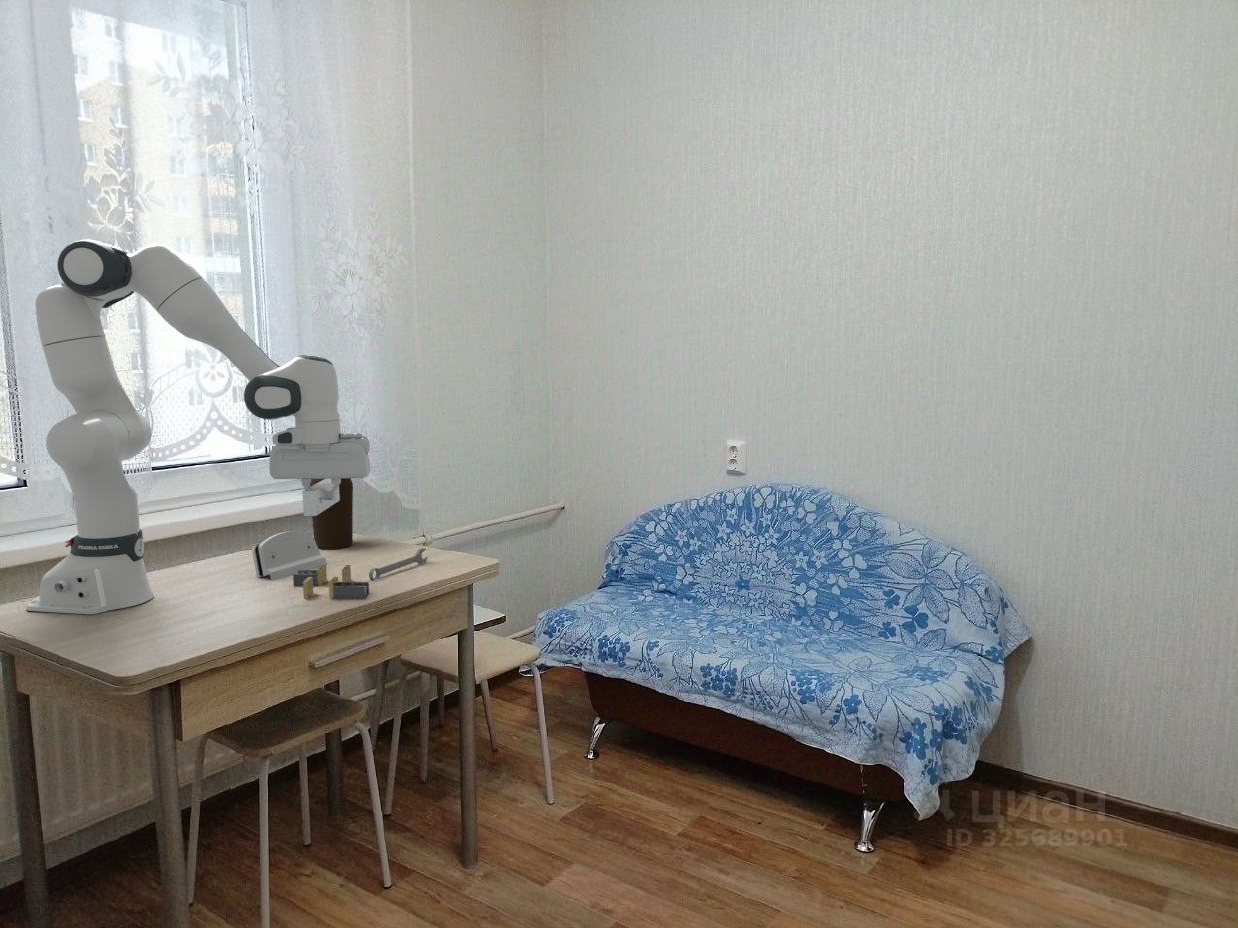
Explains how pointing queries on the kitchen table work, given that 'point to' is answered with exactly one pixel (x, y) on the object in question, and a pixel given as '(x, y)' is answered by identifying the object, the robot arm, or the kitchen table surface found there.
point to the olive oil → (335, 519)
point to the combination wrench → (398, 564)
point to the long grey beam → (318, 498)
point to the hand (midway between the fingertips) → (322, 499)
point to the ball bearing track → (331, 583)
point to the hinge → (286, 554)
